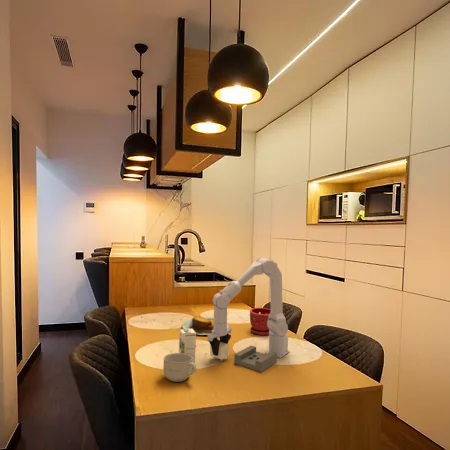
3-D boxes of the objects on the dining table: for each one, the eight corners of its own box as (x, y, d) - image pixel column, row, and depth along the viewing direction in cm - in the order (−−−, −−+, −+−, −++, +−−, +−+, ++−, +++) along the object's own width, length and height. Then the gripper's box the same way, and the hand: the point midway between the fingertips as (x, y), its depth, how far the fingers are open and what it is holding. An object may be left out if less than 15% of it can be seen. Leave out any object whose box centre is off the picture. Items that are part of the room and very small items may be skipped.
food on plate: (235, 326, 192) (235, 314, 192) (218, 340, 168) (218, 327, 168) (194, 320, 201) (194, 308, 201) (172, 332, 178) (173, 320, 177)
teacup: (157, 377, 126) (157, 356, 126) (180, 369, 133) (181, 349, 133) (179, 391, 116) (180, 368, 116) (203, 381, 123) (204, 360, 123)
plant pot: (244, 331, 181) (244, 309, 181) (260, 327, 190) (261, 306, 190) (262, 338, 172) (263, 315, 172) (278, 333, 180) (279, 311, 180)
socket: (250, 354, 150) (250, 345, 150) (276, 362, 143) (276, 352, 143) (234, 363, 140) (234, 354, 140) (261, 372, 132) (261, 362, 132)
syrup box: (178, 364, 138) (178, 329, 138) (191, 362, 140) (192, 327, 140) (181, 370, 132) (182, 333, 132) (195, 368, 135) (196, 332, 134)
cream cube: (217, 355, 148) (217, 341, 148) (228, 359, 144) (228, 344, 144) (210, 359, 144) (210, 344, 144) (221, 363, 140) (221, 347, 140)
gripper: (222, 316, 152) (222, 346, 152) (202, 323, 140) (201, 355, 140) (235, 319, 148) (234, 349, 148) (215, 327, 136) (214, 360, 136)
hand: (219, 353), depth 144 cm, fingers closed on cream cube, 5 cm apart
